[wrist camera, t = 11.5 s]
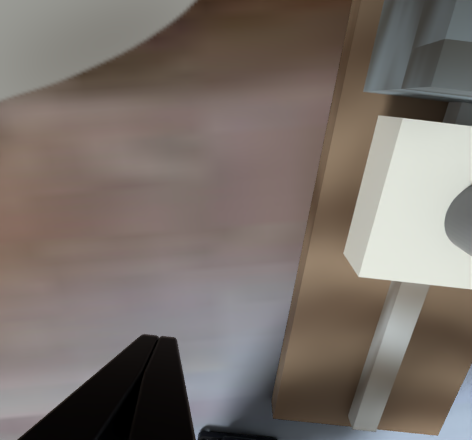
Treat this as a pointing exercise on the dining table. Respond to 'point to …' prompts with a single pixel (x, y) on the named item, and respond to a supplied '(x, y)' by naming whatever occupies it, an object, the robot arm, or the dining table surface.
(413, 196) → the carriage
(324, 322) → the rail board
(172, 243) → the dining table surface
